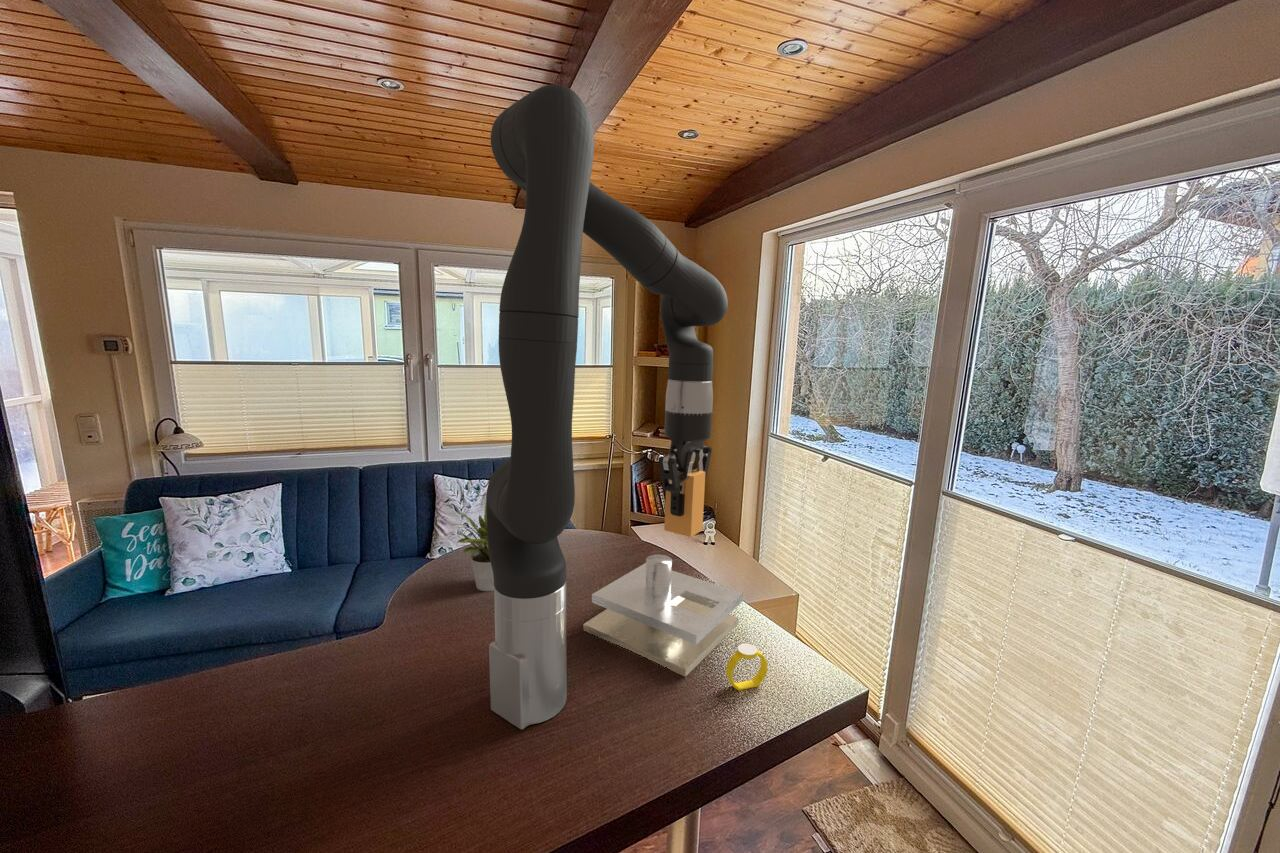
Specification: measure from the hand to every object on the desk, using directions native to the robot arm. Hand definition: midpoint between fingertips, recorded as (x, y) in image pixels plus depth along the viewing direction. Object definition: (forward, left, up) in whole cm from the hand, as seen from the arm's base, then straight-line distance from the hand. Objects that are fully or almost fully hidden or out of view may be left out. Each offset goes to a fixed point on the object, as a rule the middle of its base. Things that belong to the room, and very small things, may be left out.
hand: (684, 511), depth 84 cm
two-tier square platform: (-2, +2, -21) cm, 21 cm away
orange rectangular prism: (0, 0, -3) cm, 3 cm away
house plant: (-10, +40, -21) cm, 46 cm away
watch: (-7, -15, -21) cm, 27 cm away
